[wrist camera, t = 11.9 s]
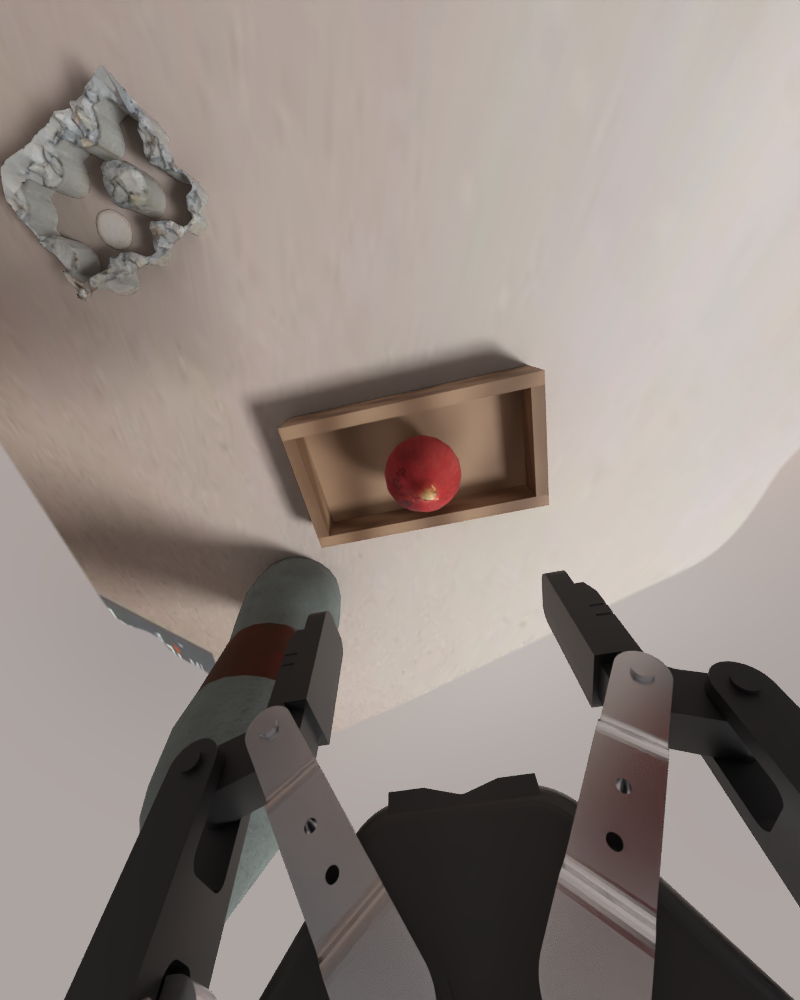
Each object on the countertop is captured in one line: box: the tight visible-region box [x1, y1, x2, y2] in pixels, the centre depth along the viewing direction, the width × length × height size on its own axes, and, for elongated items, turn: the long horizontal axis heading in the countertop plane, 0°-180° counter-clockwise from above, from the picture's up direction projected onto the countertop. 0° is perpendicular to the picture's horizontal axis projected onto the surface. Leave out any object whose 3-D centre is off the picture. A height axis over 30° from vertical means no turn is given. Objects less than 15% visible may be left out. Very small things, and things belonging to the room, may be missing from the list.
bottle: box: [140, 557, 341, 922], centre depth 25 cm, size 9×9×30 cm
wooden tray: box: [278, 365, 549, 548], centre depth 30 cm, size 20×11×4 cm, turn 102°
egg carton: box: [1, 66, 208, 301], centre depth 22 cm, size 11×8×4 cm
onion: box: [384, 435, 461, 512], centre depth 27 cm, size 6×6×8 cm
